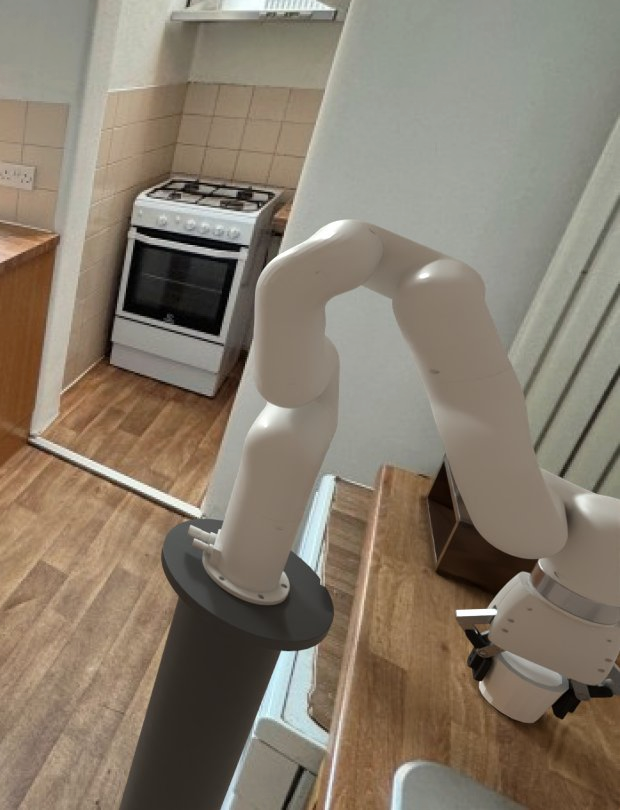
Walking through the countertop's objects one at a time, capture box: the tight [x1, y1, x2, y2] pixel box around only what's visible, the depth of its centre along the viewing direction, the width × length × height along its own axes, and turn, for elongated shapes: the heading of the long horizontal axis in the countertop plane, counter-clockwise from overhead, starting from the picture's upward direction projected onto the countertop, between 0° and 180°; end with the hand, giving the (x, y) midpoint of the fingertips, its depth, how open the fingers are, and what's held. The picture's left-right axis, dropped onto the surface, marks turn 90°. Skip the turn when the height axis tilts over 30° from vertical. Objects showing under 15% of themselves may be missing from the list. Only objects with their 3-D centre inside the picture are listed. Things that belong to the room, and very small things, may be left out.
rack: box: [424, 451, 539, 597], centre depth 101 cm, size 12×22×14 cm, turn 142°
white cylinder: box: [478, 651, 569, 724], centre depth 78 cm, size 7×7×7 cm
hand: (514, 689), depth 78 cm, fingers closed on white cylinder, 6 cm apart
